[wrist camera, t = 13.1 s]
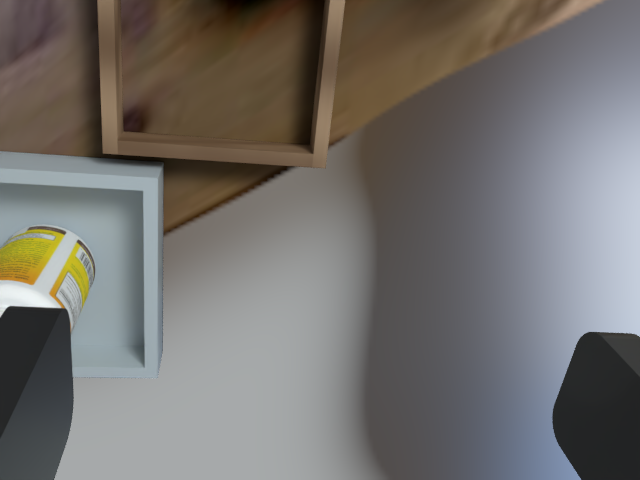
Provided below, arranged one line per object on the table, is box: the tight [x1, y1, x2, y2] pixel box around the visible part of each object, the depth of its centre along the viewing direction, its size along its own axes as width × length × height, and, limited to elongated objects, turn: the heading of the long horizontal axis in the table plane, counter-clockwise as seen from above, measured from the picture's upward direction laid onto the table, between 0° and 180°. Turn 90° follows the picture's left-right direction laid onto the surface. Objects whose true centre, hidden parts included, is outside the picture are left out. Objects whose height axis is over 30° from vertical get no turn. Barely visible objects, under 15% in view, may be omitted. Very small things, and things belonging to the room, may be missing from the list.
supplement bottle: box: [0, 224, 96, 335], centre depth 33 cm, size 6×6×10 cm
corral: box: [97, 0, 345, 168], centre depth 33 cm, size 13×13×2 cm
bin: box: [0, 151, 164, 378], centre depth 37 cm, size 14×14×3 cm
